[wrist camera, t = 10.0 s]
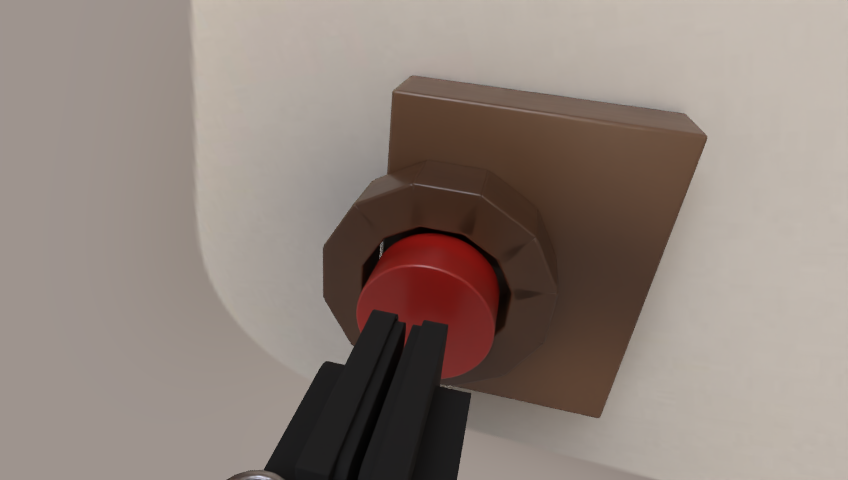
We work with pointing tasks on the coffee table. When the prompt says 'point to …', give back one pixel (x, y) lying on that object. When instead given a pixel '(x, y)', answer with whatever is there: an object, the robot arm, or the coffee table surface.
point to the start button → (437, 294)
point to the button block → (528, 224)
